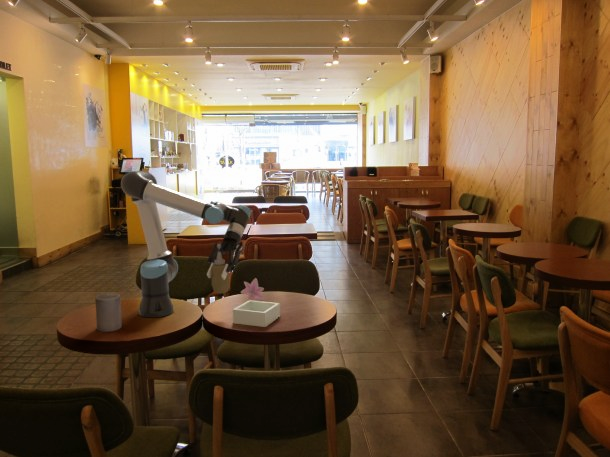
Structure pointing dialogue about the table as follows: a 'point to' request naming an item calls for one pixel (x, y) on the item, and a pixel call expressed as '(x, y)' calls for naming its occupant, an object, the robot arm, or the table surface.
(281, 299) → the table surface
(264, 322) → the bin
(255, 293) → the lily
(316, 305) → the table surface
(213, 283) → the squeeze bottle
